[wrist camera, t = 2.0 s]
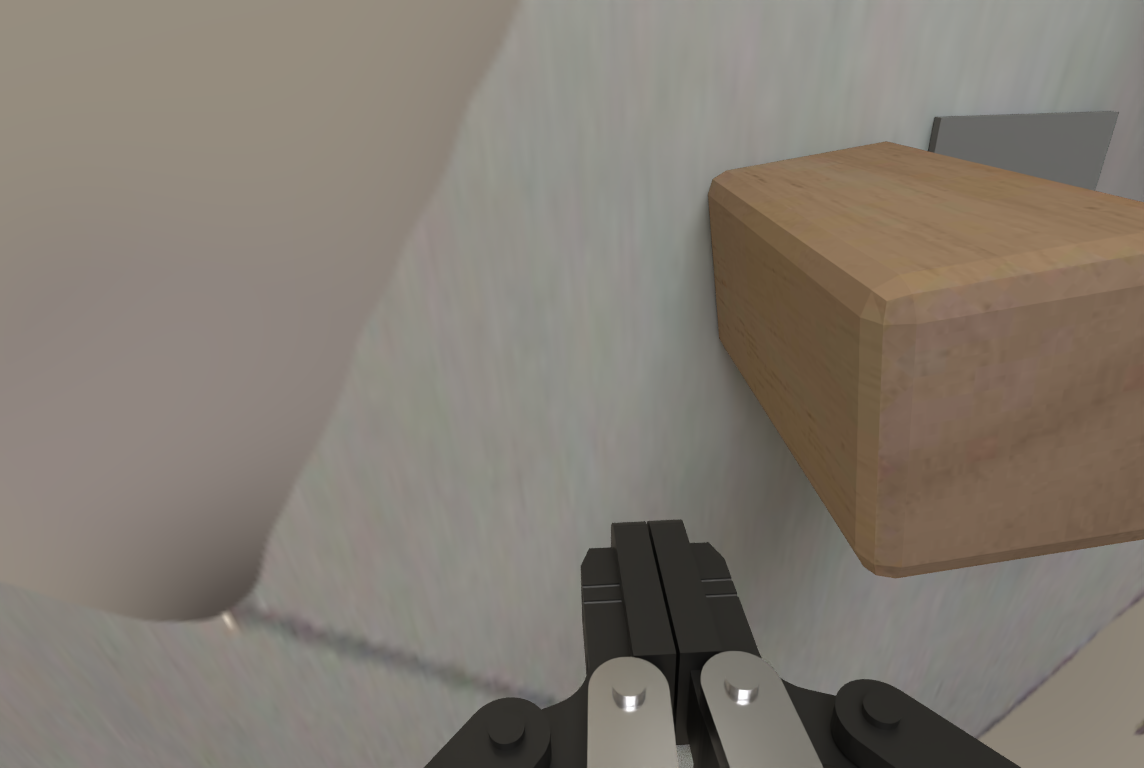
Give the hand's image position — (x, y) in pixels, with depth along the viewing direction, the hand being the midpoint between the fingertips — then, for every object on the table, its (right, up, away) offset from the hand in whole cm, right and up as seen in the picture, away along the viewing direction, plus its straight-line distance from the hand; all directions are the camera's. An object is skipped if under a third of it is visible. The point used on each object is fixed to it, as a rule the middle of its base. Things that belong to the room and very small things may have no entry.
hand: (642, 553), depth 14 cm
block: (+11, +11, +22) cm, 27 cm away
